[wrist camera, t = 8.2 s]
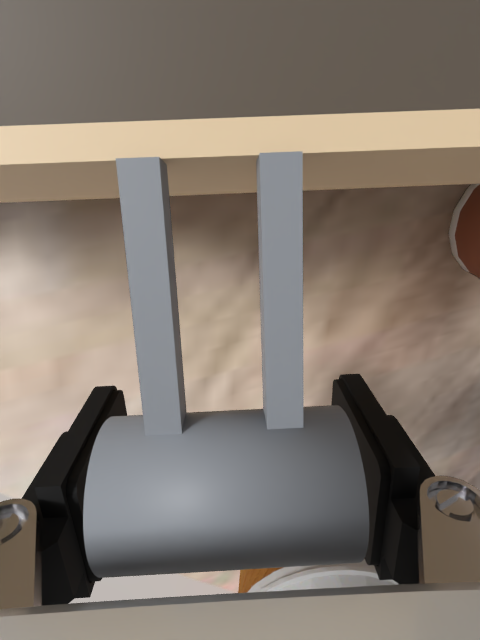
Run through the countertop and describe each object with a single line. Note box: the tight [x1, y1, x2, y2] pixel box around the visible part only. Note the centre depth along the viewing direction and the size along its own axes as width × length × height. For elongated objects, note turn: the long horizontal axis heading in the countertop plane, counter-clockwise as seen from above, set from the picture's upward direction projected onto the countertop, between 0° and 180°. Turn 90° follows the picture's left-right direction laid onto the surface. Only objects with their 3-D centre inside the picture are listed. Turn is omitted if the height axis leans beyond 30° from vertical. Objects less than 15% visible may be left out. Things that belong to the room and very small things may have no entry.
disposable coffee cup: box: [238, 558, 398, 593], centre depth 22 cm, size 10×10×12 cm
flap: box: [0, 109, 480, 578], centre depth 9 cm, size 17×7×7 cm
